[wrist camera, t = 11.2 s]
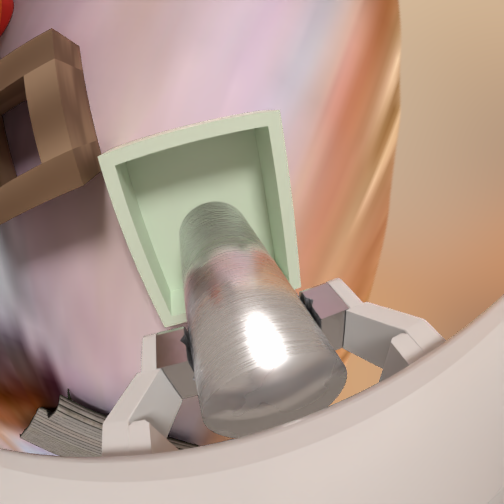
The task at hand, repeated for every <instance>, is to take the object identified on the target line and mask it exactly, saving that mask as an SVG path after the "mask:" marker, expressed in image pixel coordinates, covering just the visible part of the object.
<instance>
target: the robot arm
mask: <svg viewBox="0 0 504 504" xmlns="http://www.w3.org/2000/svg"><path fill="white" fill-rule="evenodd" d="M299 298H300V299H301V301H302V302H303V304H304V305H305V307H306V308H307V310H308V311H309V313H310V314H311V316H312V317H313V319H314V320H315V322H316V323H317V324H318V326H319V327H320V329H321V330H322V332H323V333H324V335H325V336H326V338H327V339H328V341H329V342H330V344H331V346H332V347H333V349H334V350H337V349H340V348H342V347H343V349H345V350H347V351H349V352H351V353H353V354H355V355H357V356H359V357H361V358H363V359H365V360H367V361H368V362H370V363H373V364H374V365H376V366H378V367H381V368H382V369H383V371H382V374H381V377H380V380H379V383H377V384H375V385H373V386H371V387H369V388H367V389H365V390H363V391H361V392H359V393H357V394H355V395H353V396H351V397H349V398H347V399H344V400H342V401H340V402H338V403H335V404H333V405H331V406H329V407H326V408H324V409H321V410H319V411H317V412H314V413H312V414H309V415H306V416H304V417H301V418H298V419H296V420H293V421H290V422H287V423H284V424H282V425H279V426H276V427H273V428H269V429H266V430H263V431H260V432H256V433H253V434H249V435H246V436H242V437H238V438H235V439H231V440H227V441H222V442H218V443H214V444H209V445H204V446H199V447H194V448H188V449H183V450H179V449H177V448H176V447H175V446H174V445H173V444H172V443H170V442H169V441H168V440H167V436H168V434H169V432H170V429H171V427H172V424H173V422H174V420H175V417H176V415H177V413H178V410H179V408H180V406H181V403H182V401H183V400H182V399H184V398H188V397H192V396H196V395H198V392H197V386H196V380H195V374H194V368H193V362H192V355H191V348H190V341H189V334H188V331H187V329H186V327H180V328H176V329H171V330H167V331H163V332H159V333H155V334H151V335H146V336H144V337H143V338H142V350H141V373H137V374H136V376H135V377H134V378H133V380H132V381H131V383H130V384H129V386H128V387H127V389H126V390H125V391H124V393H123V394H122V396H121V397H120V399H119V400H118V402H117V403H116V405H115V406H114V408H113V409H112V411H111V412H110V413H109V415H108V416H107V418H106V419H105V421H104V422H103V428H102V457H65V456H51V455H40V454H32V453H24V452H18V451H12V450H7V449H1V448H0V504H504V294H503V295H502V296H501V297H500V298H499V299H498V300H497V301H496V302H495V303H493V304H492V305H491V306H490V307H489V308H488V309H487V310H485V311H484V312H483V313H482V314H481V315H479V316H478V317H477V318H476V319H475V320H473V321H472V322H471V323H470V324H468V325H467V326H466V327H464V328H463V329H462V330H461V331H459V332H458V333H456V334H455V335H454V336H453V337H451V338H450V339H448V340H447V341H446V340H445V339H444V338H443V337H441V335H440V334H439V333H438V332H437V331H436V330H435V329H434V328H433V327H432V326H431V325H430V324H429V323H428V322H427V321H426V320H425V319H422V318H419V317H416V316H412V315H409V314H406V313H402V312H399V311H396V310H392V309H389V308H386V307H382V306H379V305H376V304H373V303H370V302H365V303H363V302H362V301H361V300H360V299H359V298H358V297H357V296H356V295H355V294H354V292H353V291H352V290H351V289H350V288H349V287H348V286H347V285H346V284H345V283H344V282H343V281H342V280H341V279H340V278H336V279H333V280H330V281H328V282H326V283H323V284H320V285H317V286H315V287H312V288H309V289H306V290H303V291H300V292H299Z"/></svg>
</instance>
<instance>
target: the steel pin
mask: <svg viewBox="0 0 504 504" xmlns="http://www.w3.org/2000/svg"><path fill="white" fill-rule="evenodd" d="M179 245H180V258H181V270H182V281H183V291H184V301H185V309H186V318H187V326H188V334H189V341H190V348H191V355H192V362H193V368H194V374H195V380H196V386H197V392H198V398H199V403H200V408H201V414H202V418H203V422H204V424H205V425H206V426H207V427H208V428H209V429H210V430H211V431H213V432H215V433H217V434H219V435H222V436H226V437H231V438H238V437H242V436H246V435H249V434H253V433H256V432H260V431H263V430H266V429H269V428H273V427H276V426H279V425H282V424H284V423H287V422H290V421H293V420H296V419H298V418H301V417H304V416H306V415H309V414H312V413H314V412H317V411H319V410H321V409H324V408H326V407H328V406H329V405H330V404H331V403H332V402H333V401H334V400H335V399H336V398H337V397H338V395H339V394H340V393H341V391H342V389H343V387H344V385H345V383H346V379H347V370H346V367H345V365H344V364H343V362H342V361H341V359H340V358H339V356H338V355H337V353H336V352H335V350H334V349H333V347H332V346H331V344H330V342H329V341H328V339H327V338H326V336H325V335H324V333H323V332H322V330H321V329H320V327H319V326H318V324H317V323H316V322H315V320H314V319H313V317H312V316H311V314H310V313H309V311H308V310H307V308H306V307H305V305H304V304H303V302H302V301H301V299H300V298H299V296H298V295H297V293H296V292H295V290H294V289H293V287H292V286H291V284H290V283H289V281H288V280H287V279H286V277H285V276H284V274H283V273H282V271H281V270H280V268H279V267H278V265H277V264H276V262H275V261H274V259H273V258H272V257H271V255H270V254H269V252H268V251H267V249H266V248H265V246H264V245H263V243H262V242H261V241H260V239H259V238H258V236H257V235H256V233H255V232H254V230H253V229H252V227H251V226H250V225H249V223H248V222H247V220H246V219H245V217H244V216H243V214H242V213H241V212H240V211H239V210H238V209H237V208H235V207H234V206H232V205H230V204H227V203H224V202H217V201H214V202H207V203H204V204H201V205H199V206H197V207H195V208H194V209H192V210H191V211H190V212H189V213H188V214H187V215H186V216H185V218H184V219H183V221H182V223H181V226H180V230H179Z"/></svg>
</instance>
